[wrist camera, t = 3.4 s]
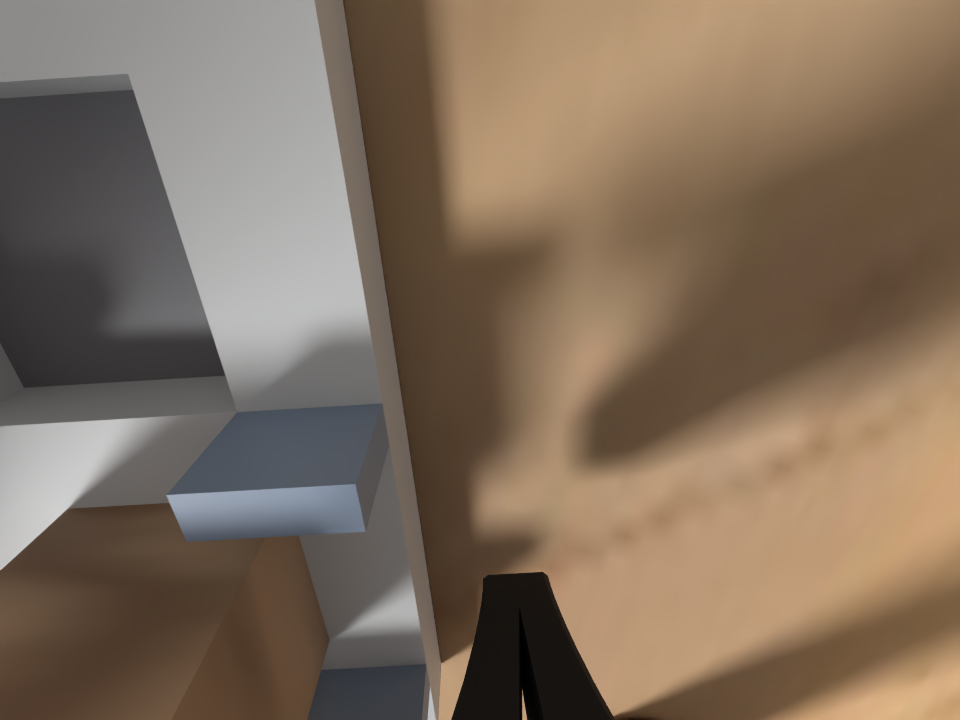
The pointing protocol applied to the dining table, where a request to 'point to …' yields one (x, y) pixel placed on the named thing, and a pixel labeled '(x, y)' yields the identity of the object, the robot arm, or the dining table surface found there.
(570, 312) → the dining table surface
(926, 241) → the dining table surface
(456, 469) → the dining table surface
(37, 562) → the walnut block
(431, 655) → the deck
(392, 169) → the dining table surface
